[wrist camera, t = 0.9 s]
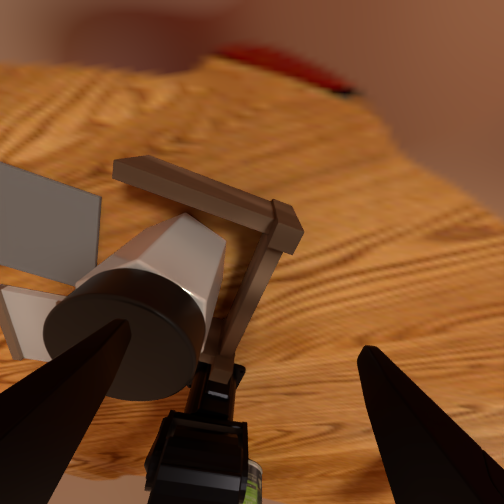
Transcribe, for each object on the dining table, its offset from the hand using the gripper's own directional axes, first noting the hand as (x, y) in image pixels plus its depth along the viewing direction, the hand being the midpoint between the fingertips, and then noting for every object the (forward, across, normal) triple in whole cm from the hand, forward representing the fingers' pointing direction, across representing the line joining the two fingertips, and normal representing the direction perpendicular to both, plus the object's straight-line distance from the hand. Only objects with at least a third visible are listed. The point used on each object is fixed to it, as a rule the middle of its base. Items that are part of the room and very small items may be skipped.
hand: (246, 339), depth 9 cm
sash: (+12, +24, +17) cm, 32 cm away
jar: (+14, +6, +5) cm, 16 cm away
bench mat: (+13, +21, +4) cm, 25 cm away
